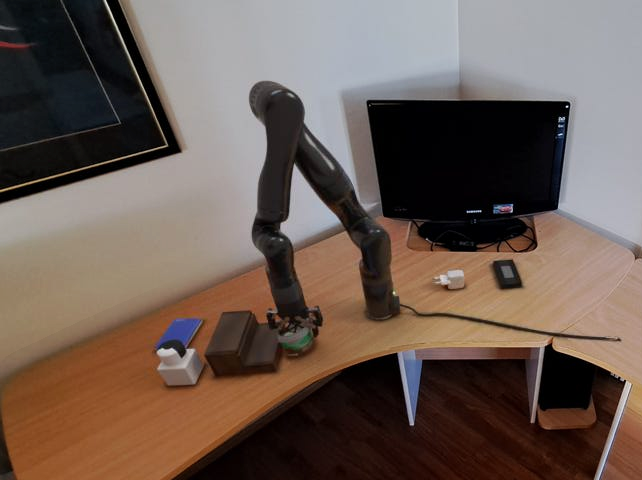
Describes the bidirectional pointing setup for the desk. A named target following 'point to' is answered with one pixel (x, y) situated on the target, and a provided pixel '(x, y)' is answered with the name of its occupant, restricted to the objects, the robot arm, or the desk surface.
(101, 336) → the desk surface
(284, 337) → the food container
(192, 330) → the hard drive
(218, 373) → the desk shelf
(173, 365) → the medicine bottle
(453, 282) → the power adapter
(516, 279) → the vhs tape
